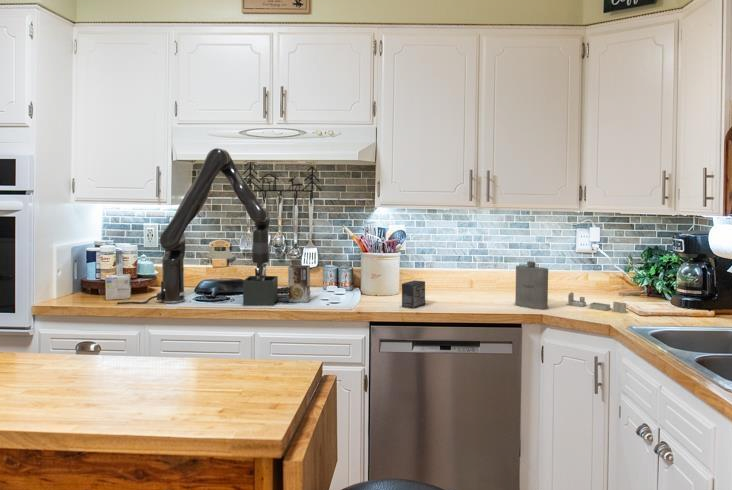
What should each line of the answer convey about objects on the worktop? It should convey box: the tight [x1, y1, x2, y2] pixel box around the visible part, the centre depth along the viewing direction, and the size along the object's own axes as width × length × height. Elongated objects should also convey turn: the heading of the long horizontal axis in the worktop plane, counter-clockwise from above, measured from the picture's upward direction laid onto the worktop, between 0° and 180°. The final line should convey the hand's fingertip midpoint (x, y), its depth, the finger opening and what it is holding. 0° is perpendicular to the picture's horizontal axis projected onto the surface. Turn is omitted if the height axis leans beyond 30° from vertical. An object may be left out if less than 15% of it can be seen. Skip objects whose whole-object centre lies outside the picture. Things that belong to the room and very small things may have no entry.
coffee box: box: [287, 264, 311, 303], centre depth 282 cm, size 9×6×16 cm
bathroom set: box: [567, 291, 627, 314], centre depth 270 cm, size 25×5×5 cm, turn 50°
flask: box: [514, 260, 549, 310], centre depth 272 cm, size 15×6×20 cm, turn 48°
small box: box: [401, 280, 426, 309], centre depth 273 cm, size 11×6×10 cm, turn 145°
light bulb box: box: [104, 273, 132, 301], centre depth 286 cm, size 11×7×11 cm, turn 108°
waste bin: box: [242, 275, 279, 307], centre depth 278 cm, size 13×13×11 cm
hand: (260, 288), depth 278 cm, fingers open, 6 cm apart
